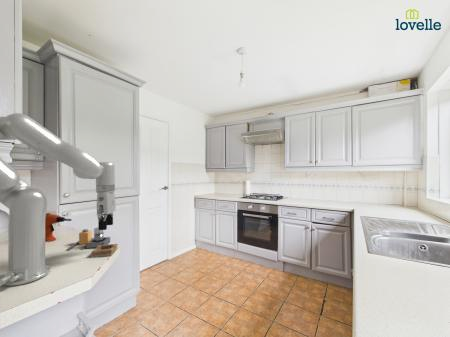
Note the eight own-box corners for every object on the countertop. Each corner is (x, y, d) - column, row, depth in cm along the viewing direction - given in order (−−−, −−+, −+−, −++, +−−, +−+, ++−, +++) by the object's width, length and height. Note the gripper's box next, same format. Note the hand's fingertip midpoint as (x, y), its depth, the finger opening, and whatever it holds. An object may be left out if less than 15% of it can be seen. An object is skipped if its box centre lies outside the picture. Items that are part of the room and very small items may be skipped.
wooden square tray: (111, 255, 91) (111, 250, 91) (91, 257, 90) (91, 251, 90) (117, 248, 99) (117, 243, 99) (99, 250, 98) (99, 245, 98)
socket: (104, 247, 101) (104, 242, 101) (86, 248, 100) (86, 243, 100) (110, 241, 109) (110, 237, 109) (93, 242, 107) (93, 237, 107)
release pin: (87, 244, 105) (87, 230, 105) (79, 244, 104) (79, 231, 104) (91, 241, 109) (91, 228, 109) (83, 242, 108) (83, 228, 108)
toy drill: (66, 244, 105) (66, 215, 105) (37, 242, 108) (37, 213, 108) (75, 241, 109) (75, 213, 109) (47, 239, 113) (47, 211, 113)
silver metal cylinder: (101, 245, 103) (101, 229, 103) (92, 245, 102) (92, 229, 102) (104, 242, 107) (104, 226, 107) (96, 242, 106) (96, 227, 106)
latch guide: (84, 249, 98) (84, 247, 98) (67, 250, 97) (67, 248, 97) (95, 240, 111) (95, 238, 111) (81, 241, 110) (81, 239, 110)
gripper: (107, 190, 87) (107, 232, 87) (120, 186, 104) (120, 221, 104) (87, 191, 86) (88, 233, 86) (104, 187, 103) (104, 222, 103)
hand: (106, 227), depth 95 cm, fingers open, 7 cm apart
